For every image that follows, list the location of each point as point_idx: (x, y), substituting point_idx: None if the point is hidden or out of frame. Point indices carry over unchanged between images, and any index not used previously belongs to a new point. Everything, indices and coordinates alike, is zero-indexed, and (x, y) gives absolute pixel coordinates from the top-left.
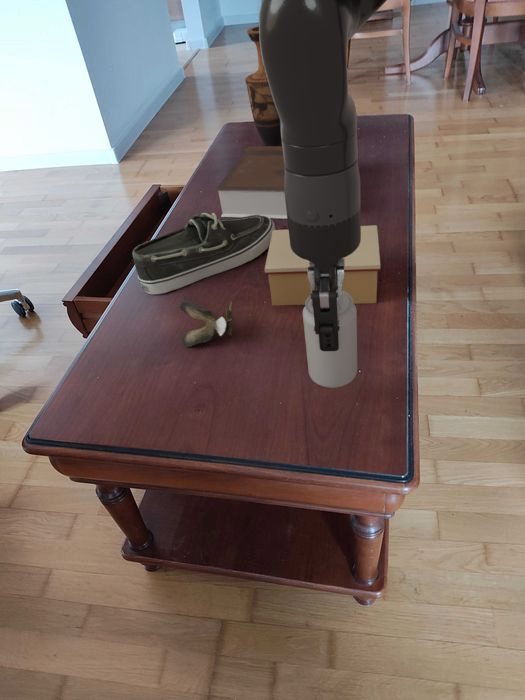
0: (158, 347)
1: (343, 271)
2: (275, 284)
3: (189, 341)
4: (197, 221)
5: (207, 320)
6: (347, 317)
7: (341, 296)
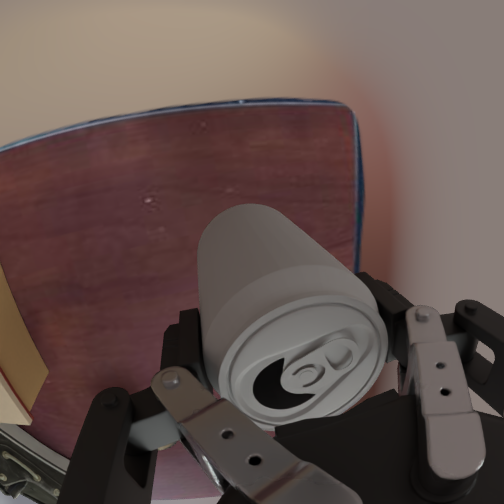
0: (185, 460)
1: (485, 448)
2: (31, 390)
3: (171, 444)
4: (12, 493)
5: None
6: (357, 291)
7: (461, 366)
